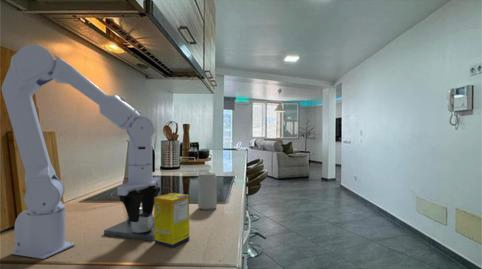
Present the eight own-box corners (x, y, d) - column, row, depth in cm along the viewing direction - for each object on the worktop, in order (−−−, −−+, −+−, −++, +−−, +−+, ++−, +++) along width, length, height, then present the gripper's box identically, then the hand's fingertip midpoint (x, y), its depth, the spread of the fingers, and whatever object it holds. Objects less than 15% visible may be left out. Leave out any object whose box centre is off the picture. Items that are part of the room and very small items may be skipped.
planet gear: (126, 231, 71) (126, 217, 71) (139, 225, 76) (139, 211, 76) (144, 233, 70) (144, 218, 70) (156, 226, 75) (155, 213, 75)
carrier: (103, 234, 74) (103, 214, 74) (138, 219, 87) (138, 201, 87) (153, 240, 70) (153, 219, 70) (181, 223, 83) (181, 205, 83)
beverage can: (218, 205, 102) (218, 172, 102) (214, 210, 96) (214, 174, 96) (200, 205, 103) (200, 171, 103) (196, 210, 97) (195, 174, 97)
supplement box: (171, 235, 73) (171, 192, 73) (190, 239, 70) (189, 194, 70) (153, 243, 68) (153, 196, 68) (172, 248, 65) (172, 199, 65)
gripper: (135, 168, 65) (136, 228, 65) (169, 161, 79) (170, 211, 79) (109, 167, 67) (110, 226, 67) (147, 161, 81) (147, 210, 81)
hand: (140, 218), depth 73 cm, fingers closed on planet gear, 5 cm apart
